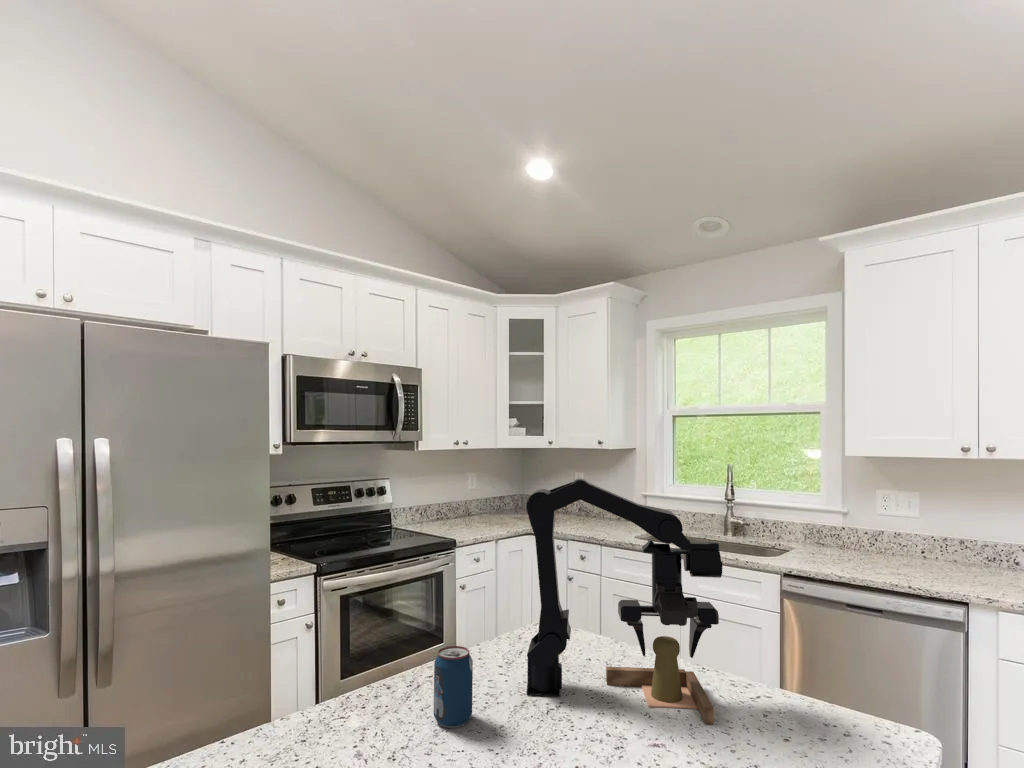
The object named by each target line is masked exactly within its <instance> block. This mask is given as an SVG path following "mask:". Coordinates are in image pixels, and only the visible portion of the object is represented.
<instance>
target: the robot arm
mask: <svg viewBox="0 0 1024 768" xmlns="http://www.w3.org/2000/svg"><path fill="white" fill-rule="evenodd" d="M578 501H583V502H585V503H587V504H588V505H589V504H590V505H592V506H594V507H596V508H598V509H601V510H603V511H605V512H608V513H610V514H613V515H615V516H617V517H619V518H622V519H624V520H626V521H629V522H631V523H633V524H635V526H638V527H639V528H640V529H641V530H643V531H644V532H646V533H647V534H649V535H650V536H652V537H653V538H654V539H657V540H658V541H660V542H661V543H659V542H658V543H657V542H654V541H653V540H652V539H651V538H649V539H648V540H647V542H645V544H644V545H642V546H641V550H642V552H643V553H644V554H651V605H641V604H640V602H639V600H638V599H620V600H619V602H618V604H617V613H618V616H619V620H620V621H621V622H623V623H626V625H627V626H629V627H632V628H633V629H634V632H635V634H636V637H637V642H638V643H639V646H640V651H641V653H642V656H643V657H646V644H645V643H646V642H645V636H644V635H645V634H644V623H643V621H642V617H659V620H660V621H659V622H660V624H662V625H664V626H670V625H671V626H673V625H674V626H675V625H676V626H680V627H684V626H686V625H687V623H688V619H689V635H688V636H689V637H688V639H689V641H688V651H689V657H690V658H691V659H693V658H694V655H695V653H696V651H697V646H698V644H699V642H700V638H701V637H702V634H703V633H704V632H705V631H706V630H708V629H711V628H712V626H713V625H719V624H720V623H719V621H720V617H719V611H718V610H717V609H716V608H715V606H714V605H713V604H712V603H711V602H710V601H698V600H697V598H696V597H694V596H693V597H692V596H686V597H685V596H684V592H683V584H682V583H683V581H682V578H683V576H682V563H683V569H684V571H685V572H689V573H688V574H689V576H690V577H692V578H693V577H694V578H695V577H696V578H716V579H717V578H718V579H720V578H722V577H723V561H722V557H721V556H722V555H721V552H720V545H719V543H718V542H717V541H706V542H705V541H701V542H700V541H691V540H690V538H689V537H688V536H687V535H685V534H684V533H683V524H682V522H681V520H680V518H679V517H677V515H676V514H675V513H674V512H672V511H671V510H667V509H663V508H659V507H655V506H650V505H643V504H640V503H637V502H635V501H633V500H630V499H627V498H625V497H623V496H622V495H621V496H620V495H618V494H616V493H614V492H611V491H609V490H607V489H605V488H603V487H600V486H598V485H596V484H593V483H591V482H588V480H586V479H584V478H576V479H574V480H572V481H571V482H568V483H566V484H562V485H560V486H557V487H554V488H552V489H549V490H548V489H547V488H546V489H545V488H539V489H537V490H535V491H534V492H532V494H531V495H530V496H529V497H528V499H527V501H526V513H527V515H528V519H529V523H530V527H531V529H532V532H533V535H534V539H535V547H536V548H535V549H536V550H535V551H536V552H535V553H536V563H537V573H538V574H537V575H538V583H539V584H538V585H539V596H540V597H539V599H540V612H539V614H540V615H539V624H538V631H537V633H536V634H535V635H534V636H533V637H532V638H531V639H530V643H529V646H528V651H527V654H526V657H527V682H526V683H527V686H526V695H527V696H544V697H545V696H548V697H559V696H560V694H561V693H560V690H562V689H563V666H562V665H563V664H562V663H561V662H560V659H559V658H560V656H559V655H561V654H562V653H564V651H565V650H566V648H567V645H568V644H567V643H568V641H569V640H570V639H571V632H572V626H571V625H570V621H569V617H570V609H569V608H568V609H564V610H563V608H562V605H561V602H560V593H559V582H558V568H557V557H556V546H555V535H554V533H555V522H556V515H557V514H556V513H557V510H561V509H563V508H564V507H567V506H569V505H572V504H573V503H576V502H578ZM670 544H672V545H674V546H676V547H671V546H670ZM682 555H683V556H682ZM682 557H683V560H682ZM682 561H683V562H682Z"/></svg>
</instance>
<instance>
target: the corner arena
mask: <svg viewBox="0 0 1024 768" xmlns="http://www.w3.org/2000/svg"><path fill="white" fill-rule="evenodd" d="M605 670H606V672H605V673H606V674H605V676H606V677H605V679H606V680H605V681H606V682H607V683H606V686H624V685H628V686H630V687H631V686H632V687H634V686H635V687H641V689H642V691H643V695H644V697H645V700H646V703H647V706H648V708H660V709H662V708H665V709H688V710H689V709H690V710H697V713H698V714H699V715H700V718H701V720H702V722H703V723H704V725H715V717H714V716H715V715H714V711H715V709H714V708H715V707H714V705H713V703H712V702H711V700H710V698H709V697H708V695H707V693H706V691H705V689H704V688H703V686H702V684H701V683H700V681H699V679H698V677H697V675H696V673H695V672H694V671H690V670H689V671H688V670H687V671H686V669H684V668H682V669H681V668H679V675H680V682H681V690H682V698H683V699H682V700H681V701H679V702H675V703H666V702H661V701H658V700H656V699H654V698H653V697H652V696H651V690H652V681H653V673H654V667H625V666H624V667H623V666H620V667H619V666H605Z"/></svg>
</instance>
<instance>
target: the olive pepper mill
mask: <svg viewBox="0 0 1024 768" xmlns="http://www.w3.org/2000/svg"><path fill="white" fill-rule="evenodd" d="M652 651H653V654H655V659H654V664H653V665H654V666H653V668H654V673H653V681H652V690H651V696H652V697H653V698H654V699H656V700H658V701H661V702H666V703H675V702H679V701H681V700H682V699H683V698H682V690H681V682H680V675H679V669H680V668H679V662H678V656H679V655H680V653H681V647H680V643H679V641H678V640H677V639H676V638H674V637H671V636H667V635H663V636H662V635H660V636H657V637H656V638H654V640H653V642H652Z"/></svg>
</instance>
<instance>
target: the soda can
mask: <svg viewBox="0 0 1024 768" xmlns="http://www.w3.org/2000/svg"><path fill="white" fill-rule="evenodd" d="M473 662H474V661H473V658H472V656H471V654H470V650H469V649H468V648H467V647H466V646H465V647H464V646H461V645H459V646H458V645H450V646H444V647H442V648H440V649H439V650H438V651H437V656H436V657H435V660H434V663H433V664H434V665H433V666H434V668H433V671H434V672H433V717H434V718H435V720H436V722H437V724H438V725H439V726H441V727H443V728H447V729H448V728H449V729H454V728H461V727H463V726H465V725H466V724H468V722H469V720H470V718H471V716H472V715H473V679H474V678H473V673H474V672H473V669H474V668H473V667H474V666H473V665H474V664H473Z"/></svg>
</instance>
